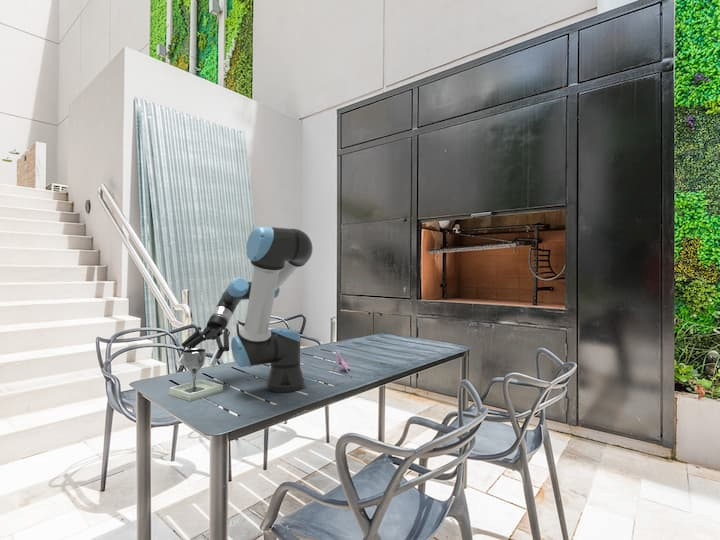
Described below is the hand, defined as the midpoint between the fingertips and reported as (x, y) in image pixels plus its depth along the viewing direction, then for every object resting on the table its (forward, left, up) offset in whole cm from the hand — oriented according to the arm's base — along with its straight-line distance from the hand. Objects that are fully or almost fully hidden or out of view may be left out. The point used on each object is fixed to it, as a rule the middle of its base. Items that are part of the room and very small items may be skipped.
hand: (195, 364), depth 148 cm
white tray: (0, 0, -11) cm, 11 cm away
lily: (-26, -57, -11) cm, 63 cm away
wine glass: (+1, 0, -10) cm, 10 cm away
